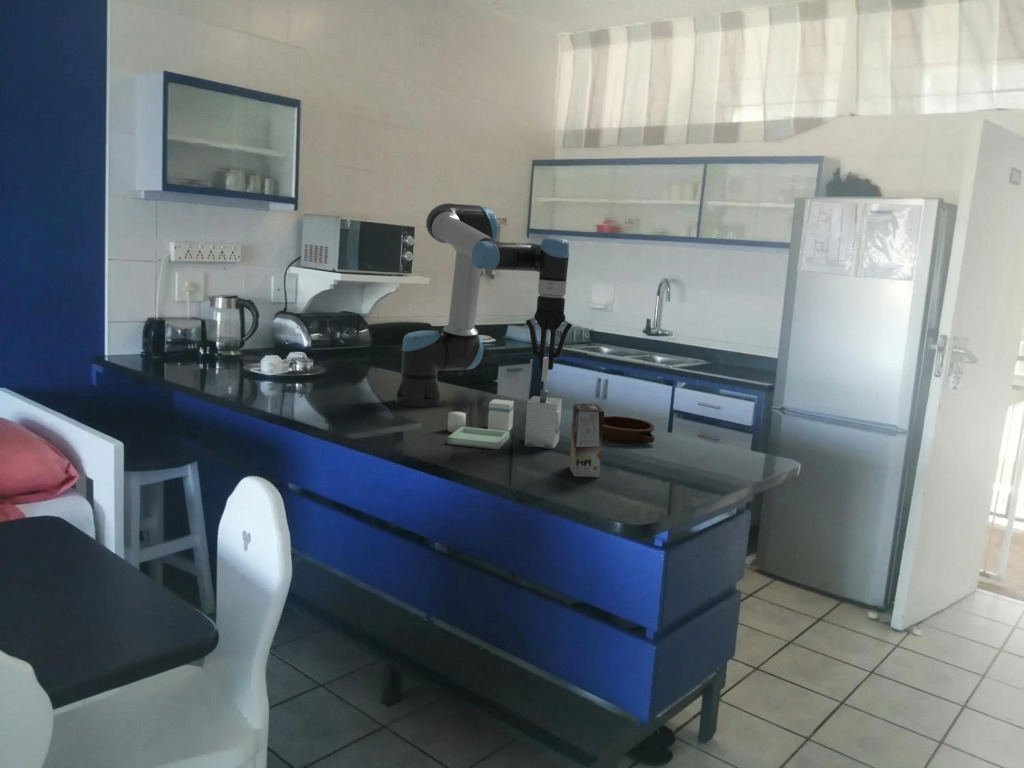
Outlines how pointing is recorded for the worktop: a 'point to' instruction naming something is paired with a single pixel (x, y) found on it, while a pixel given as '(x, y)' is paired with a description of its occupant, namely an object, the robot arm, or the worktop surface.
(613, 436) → the dish
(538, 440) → the box
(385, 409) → the worktop surface
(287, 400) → the worktop surface
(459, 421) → the cream knob
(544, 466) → the worktop surface
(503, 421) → the block
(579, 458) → the coffee box
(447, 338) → the robot arm
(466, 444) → the tray
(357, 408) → the worktop surface
